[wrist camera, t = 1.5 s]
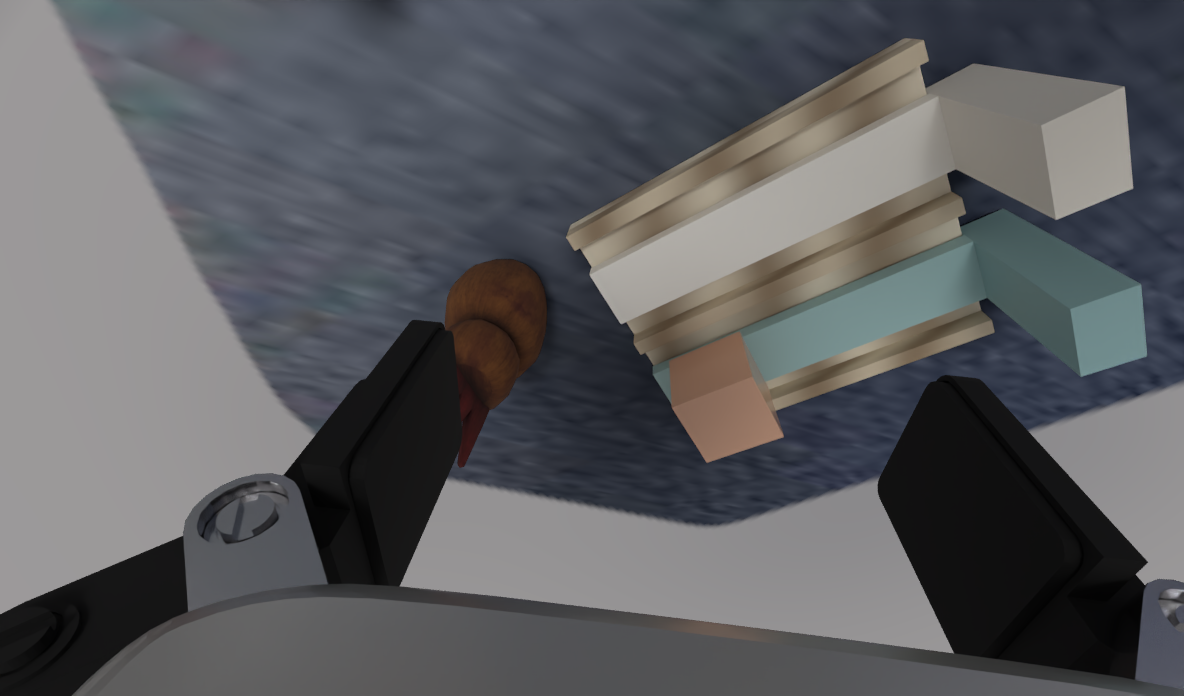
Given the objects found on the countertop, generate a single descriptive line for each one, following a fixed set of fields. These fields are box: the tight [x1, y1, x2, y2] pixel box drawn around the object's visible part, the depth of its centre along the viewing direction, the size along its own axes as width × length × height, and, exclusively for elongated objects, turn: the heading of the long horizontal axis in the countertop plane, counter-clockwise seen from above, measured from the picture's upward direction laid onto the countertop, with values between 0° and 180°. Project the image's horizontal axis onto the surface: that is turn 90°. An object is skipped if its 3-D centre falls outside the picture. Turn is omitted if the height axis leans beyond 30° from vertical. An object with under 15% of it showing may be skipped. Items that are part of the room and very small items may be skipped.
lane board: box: [566, 38, 995, 410], centre depth 33 cm, size 20×18×2 cm
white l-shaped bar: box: [590, 63, 1133, 324], centre depth 27 cm, size 22×4×10 cm, turn 121°
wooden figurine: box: [445, 259, 547, 468], centre depth 30 cm, size 7×6×15 cm
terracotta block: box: [669, 331, 784, 463], centre depth 33 cm, size 5×5×5 cm
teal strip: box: [653, 209, 1147, 404], centre depth 30 cm, size 22×4×10 cm, turn 121°
